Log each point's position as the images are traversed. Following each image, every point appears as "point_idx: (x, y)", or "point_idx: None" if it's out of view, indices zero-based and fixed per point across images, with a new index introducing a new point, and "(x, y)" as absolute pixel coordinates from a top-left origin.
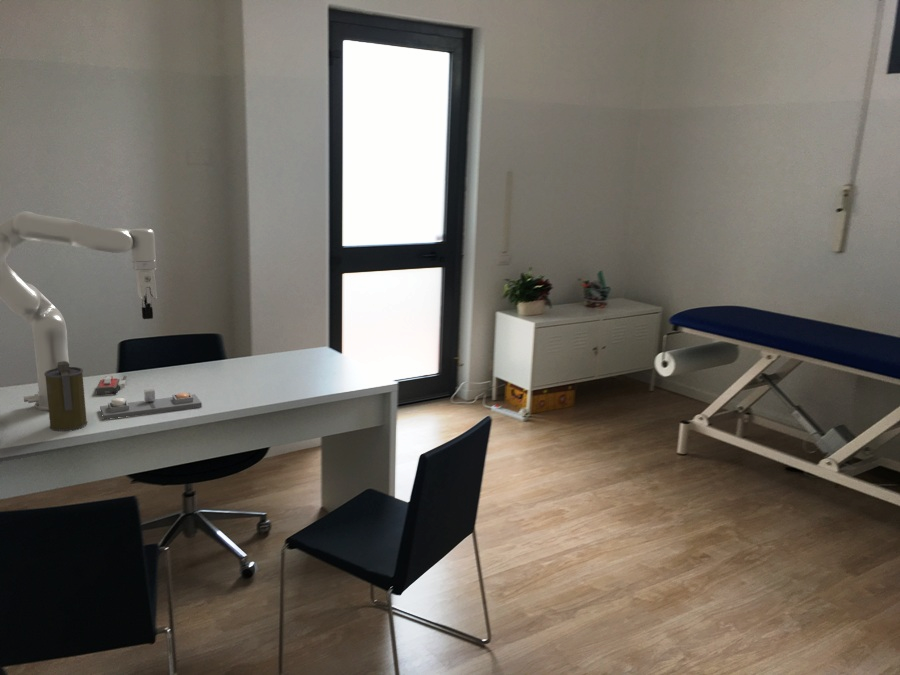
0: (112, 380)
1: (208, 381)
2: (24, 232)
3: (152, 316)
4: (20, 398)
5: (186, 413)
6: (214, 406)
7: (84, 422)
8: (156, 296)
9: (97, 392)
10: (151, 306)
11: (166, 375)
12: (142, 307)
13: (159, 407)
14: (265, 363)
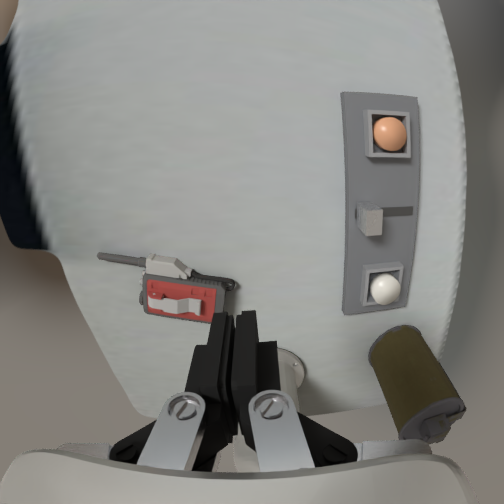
0: (162, 292)
1: (180, 39)
2: None
3: (254, 320)
4: None
5: (439, 142)
6: (416, 70)
7: (415, 331)
8: (462, 478)
9: None
10: (291, 403)
11: (88, 153)
12: (230, 438)
13: (414, 197)
14: None
